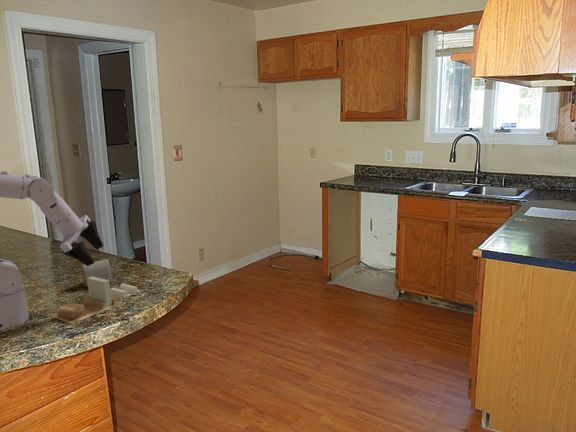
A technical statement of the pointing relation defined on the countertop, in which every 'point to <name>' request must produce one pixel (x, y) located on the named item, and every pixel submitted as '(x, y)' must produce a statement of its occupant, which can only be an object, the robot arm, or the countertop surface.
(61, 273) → the countertop surface
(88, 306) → the rack
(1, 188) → the robot arm
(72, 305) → the offcut top
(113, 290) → the stand
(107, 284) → the pale green square slab
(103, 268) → the ceramic mug
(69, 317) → the offcut low
